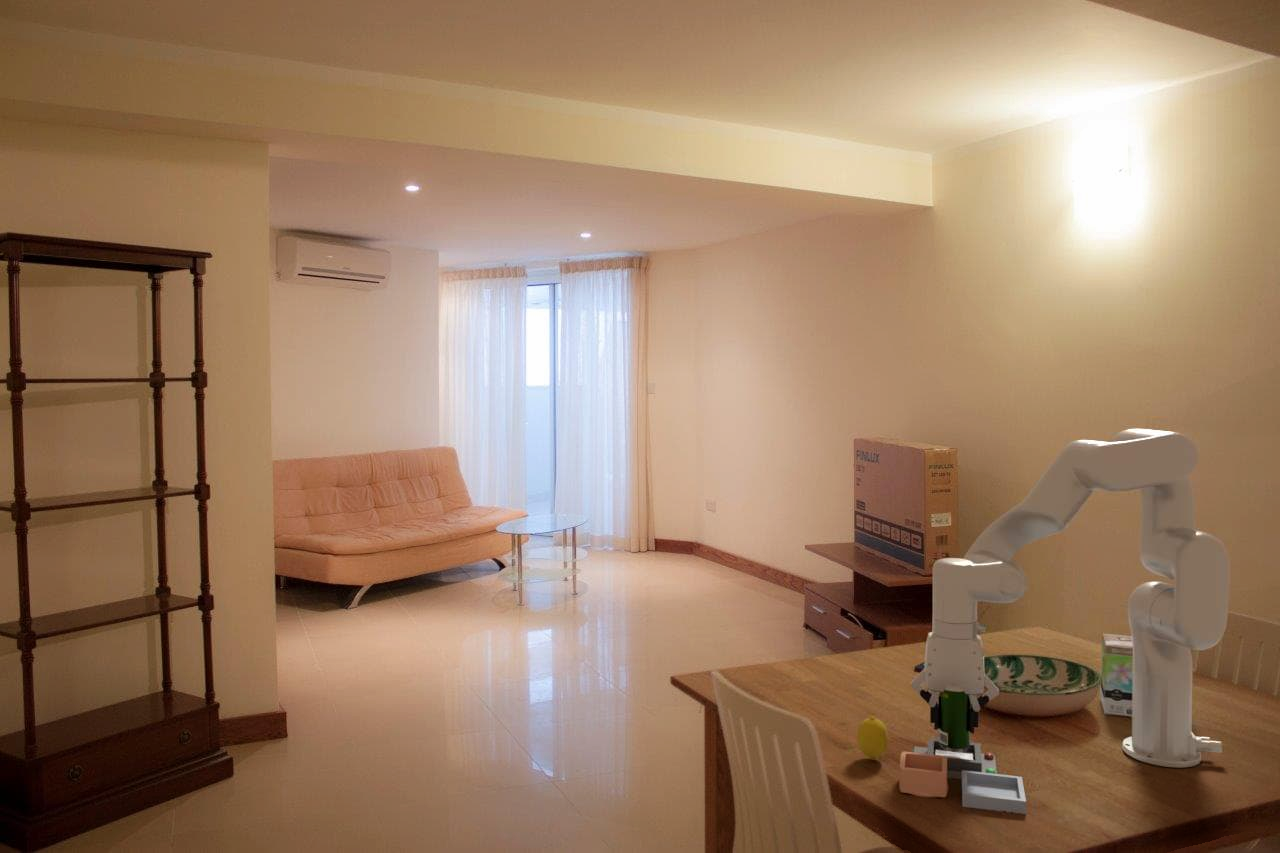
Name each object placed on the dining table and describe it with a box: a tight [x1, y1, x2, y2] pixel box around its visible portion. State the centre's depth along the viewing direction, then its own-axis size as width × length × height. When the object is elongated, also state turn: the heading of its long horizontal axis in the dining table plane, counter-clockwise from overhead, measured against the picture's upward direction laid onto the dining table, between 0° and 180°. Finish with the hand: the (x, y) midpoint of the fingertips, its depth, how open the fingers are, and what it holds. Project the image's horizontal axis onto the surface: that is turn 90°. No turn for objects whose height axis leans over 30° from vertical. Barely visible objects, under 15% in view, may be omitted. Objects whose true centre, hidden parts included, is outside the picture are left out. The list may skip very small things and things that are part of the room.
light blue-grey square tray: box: [961, 770, 1027, 815], centre depth 155 cm, size 10×10×2 cm
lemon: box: [856, 716, 889, 761], centre depth 170 cm, size 6×6×8 cm
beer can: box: [937, 684, 971, 752], centre depth 166 cm, size 5×5×12 cm
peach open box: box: [898, 750, 949, 798], centre depth 159 cm, size 8×8×4 cm
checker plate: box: [935, 748, 973, 760], centre depth 167 cm, size 6×6×1 cm
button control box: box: [913, 738, 998, 780], centre depth 167 cm, size 14×10×3 cm
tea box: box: [1099, 633, 1133, 718], centre depth 192 cm, size 15×10×15 cm
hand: (954, 727), depth 167 cm, fingers closed on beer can, 5 cm apart
